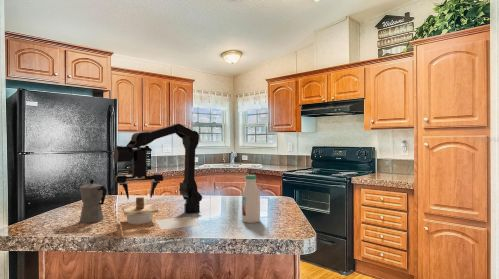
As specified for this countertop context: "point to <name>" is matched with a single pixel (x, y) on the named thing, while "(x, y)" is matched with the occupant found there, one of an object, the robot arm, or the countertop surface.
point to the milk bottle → (251, 201)
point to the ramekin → (139, 218)
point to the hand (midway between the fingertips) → (139, 198)
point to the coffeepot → (92, 202)
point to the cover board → (141, 211)
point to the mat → (177, 222)
